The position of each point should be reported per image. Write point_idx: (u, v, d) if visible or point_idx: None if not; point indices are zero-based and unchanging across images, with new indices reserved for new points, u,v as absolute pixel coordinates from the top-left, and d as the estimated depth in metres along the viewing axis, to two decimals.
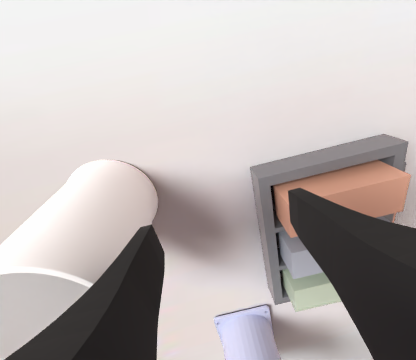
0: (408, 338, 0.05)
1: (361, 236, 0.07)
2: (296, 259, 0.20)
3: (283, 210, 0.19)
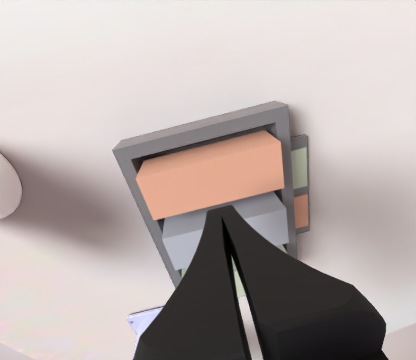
0: None
1: (247, 264, 0.07)
2: (170, 246, 0.18)
3: None
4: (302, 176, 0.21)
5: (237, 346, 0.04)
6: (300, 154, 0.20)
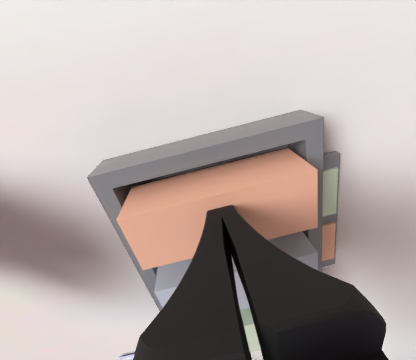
0: None
1: (247, 264, 0.07)
2: (165, 300, 0.13)
3: None
4: (331, 202, 0.17)
5: (237, 346, 0.04)
6: (330, 176, 0.16)
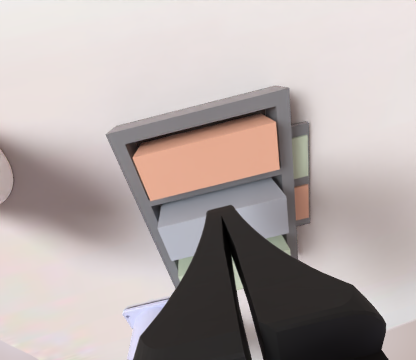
0: None
1: (247, 264, 0.07)
2: (166, 236, 0.17)
3: None
4: (303, 165, 0.20)
5: (237, 346, 0.04)
6: (301, 142, 0.19)
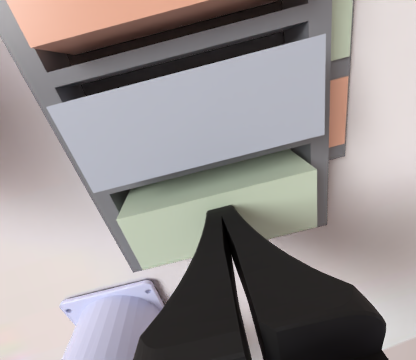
0: None
1: (247, 264, 0.07)
2: (70, 129, 0.08)
3: None
4: (342, 32, 0.11)
5: (237, 346, 0.04)
6: None
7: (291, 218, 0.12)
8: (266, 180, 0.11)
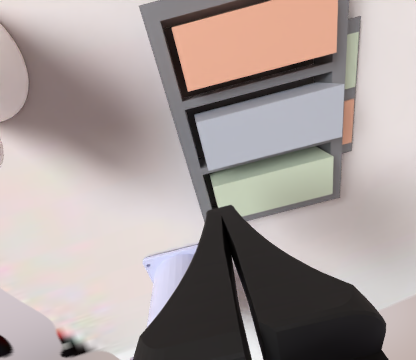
0: None
1: (247, 264, 0.07)
2: (205, 134, 0.15)
3: None
4: (350, 73, 0.18)
5: (237, 346, 0.04)
6: (351, 41, 0.17)
7: (316, 187, 0.19)
8: (302, 163, 0.18)
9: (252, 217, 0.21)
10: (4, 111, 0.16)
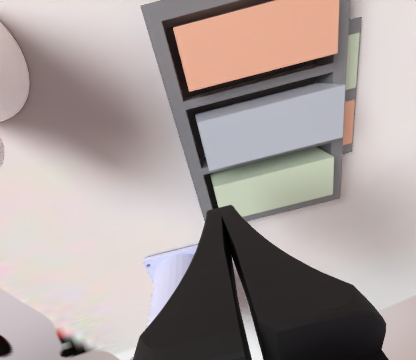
0: None
1: (247, 264, 0.07)
2: (206, 134, 0.15)
3: None
4: (351, 73, 0.18)
5: (237, 346, 0.04)
6: (352, 42, 0.17)
7: (317, 188, 0.19)
8: (303, 163, 0.18)
9: (252, 217, 0.21)
10: (5, 110, 0.16)
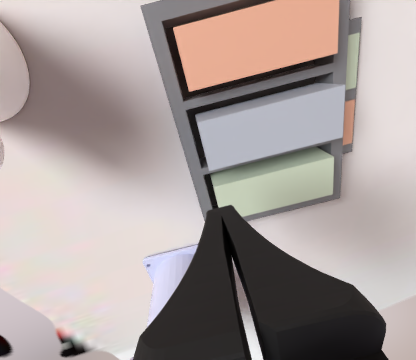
0: None
1: (247, 264, 0.07)
2: (206, 134, 0.15)
3: None
4: (351, 73, 0.18)
5: (237, 346, 0.04)
6: (352, 42, 0.17)
7: (317, 188, 0.19)
8: (303, 163, 0.18)
9: (252, 217, 0.21)
10: (5, 110, 0.16)
